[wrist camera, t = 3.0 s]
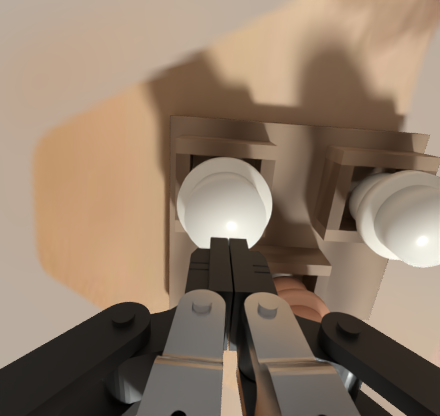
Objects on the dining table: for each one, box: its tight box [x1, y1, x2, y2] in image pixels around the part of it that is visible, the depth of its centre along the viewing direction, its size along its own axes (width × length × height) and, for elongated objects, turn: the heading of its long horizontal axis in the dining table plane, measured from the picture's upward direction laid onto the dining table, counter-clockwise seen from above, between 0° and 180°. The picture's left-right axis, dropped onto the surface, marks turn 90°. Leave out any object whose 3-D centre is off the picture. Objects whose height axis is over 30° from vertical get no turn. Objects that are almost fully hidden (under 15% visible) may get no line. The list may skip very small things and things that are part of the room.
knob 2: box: [349, 170, 440, 267], centre depth 18 cm, size 6×6×6 cm
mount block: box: [169, 115, 440, 320], centre depth 24 cm, size 21×19×4 cm
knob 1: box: [177, 157, 272, 249], centre depth 18 cm, size 6×6×6 cm
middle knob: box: [273, 276, 330, 323], centre depth 21 cm, size 6×6×6 cm
